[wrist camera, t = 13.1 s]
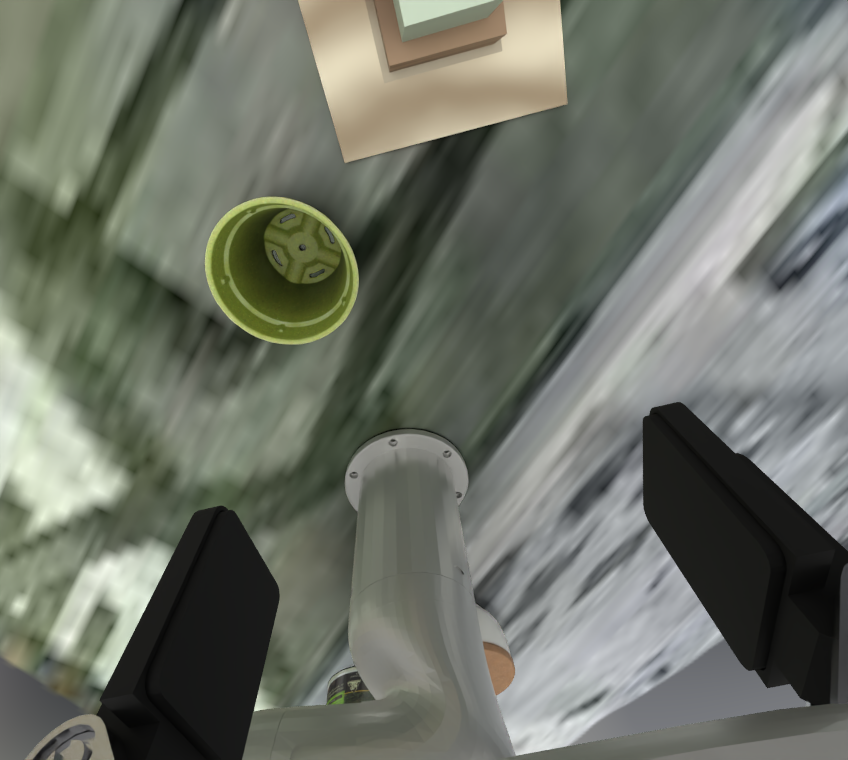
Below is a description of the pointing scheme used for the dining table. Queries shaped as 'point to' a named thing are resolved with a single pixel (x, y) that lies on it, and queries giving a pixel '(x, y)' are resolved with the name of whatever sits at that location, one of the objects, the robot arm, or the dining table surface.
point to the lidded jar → (496, 651)
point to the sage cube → (438, 15)
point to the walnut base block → (435, 37)
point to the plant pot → (281, 271)
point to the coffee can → (347, 688)
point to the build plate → (431, 77)
